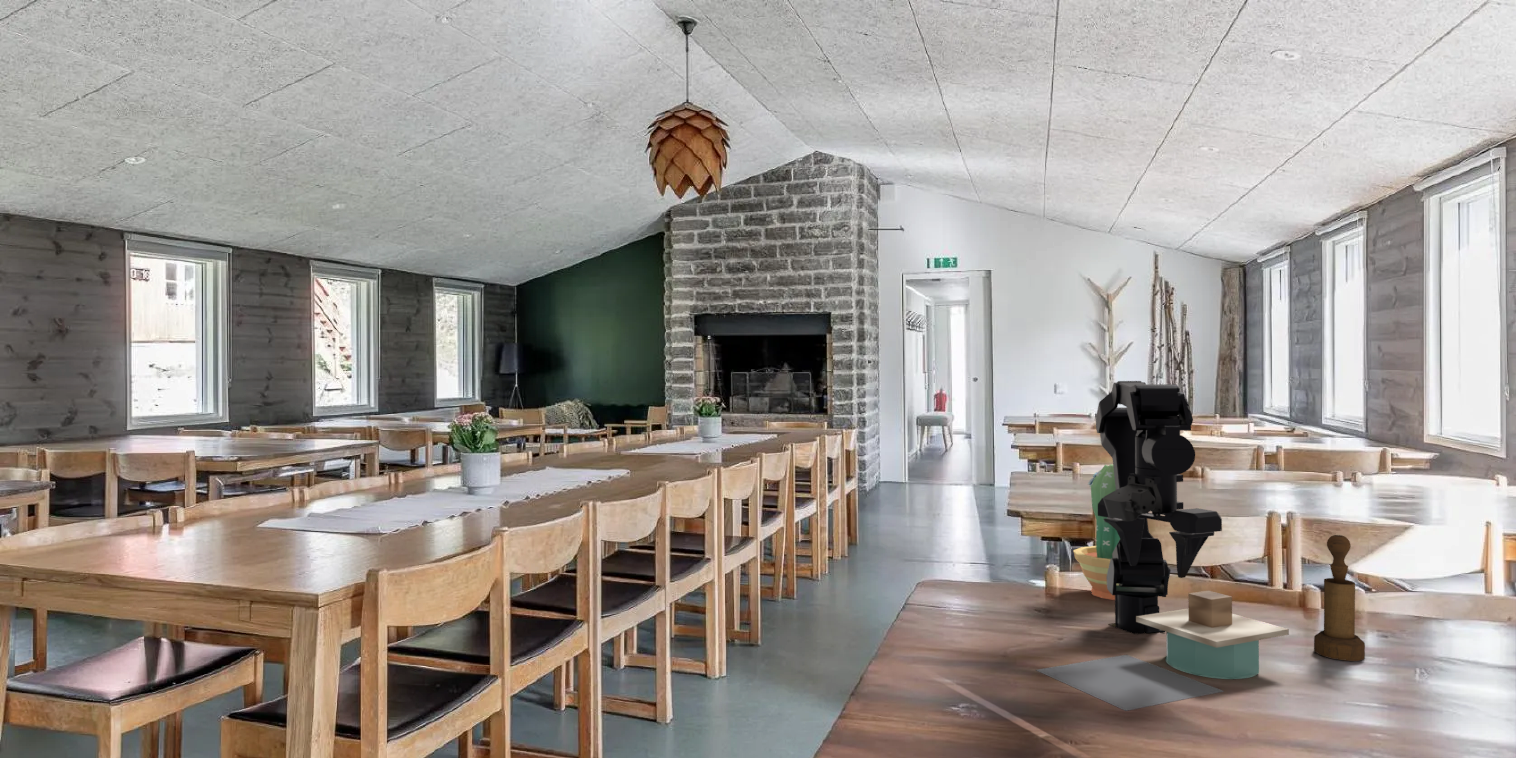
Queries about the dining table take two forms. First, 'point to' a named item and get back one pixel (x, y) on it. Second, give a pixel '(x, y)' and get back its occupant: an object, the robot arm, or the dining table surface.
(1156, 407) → the robot arm
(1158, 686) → the mat
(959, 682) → the dining table surface
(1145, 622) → the lid
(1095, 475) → the potted cactus
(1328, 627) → the brown wooden upright piece
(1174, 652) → the bowl
